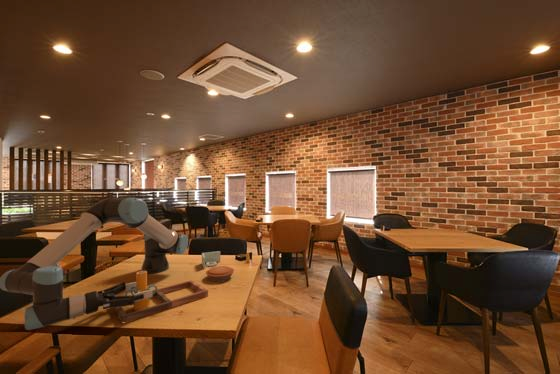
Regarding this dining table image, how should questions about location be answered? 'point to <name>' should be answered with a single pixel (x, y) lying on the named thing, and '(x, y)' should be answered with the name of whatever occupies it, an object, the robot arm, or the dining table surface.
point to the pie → (220, 273)
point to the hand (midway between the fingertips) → (147, 287)
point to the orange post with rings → (141, 290)
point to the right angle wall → (210, 258)
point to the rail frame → (165, 300)
